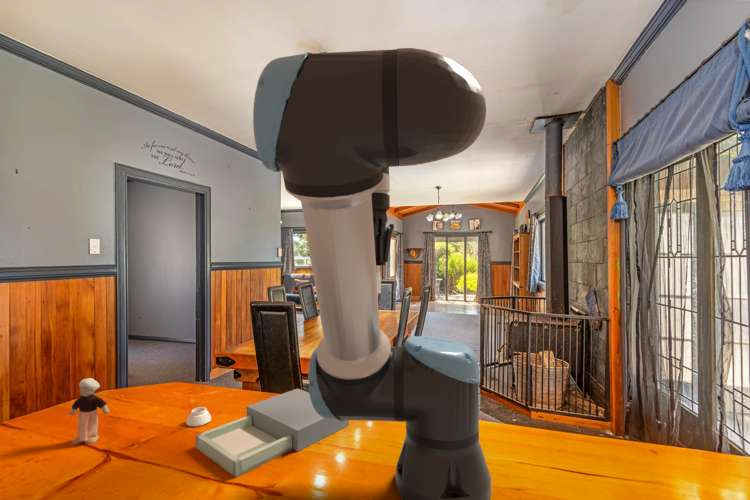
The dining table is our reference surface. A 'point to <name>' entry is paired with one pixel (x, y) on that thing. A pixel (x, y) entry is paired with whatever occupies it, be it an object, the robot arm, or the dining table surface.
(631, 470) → the dining table surface
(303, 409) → the grey drawer casing
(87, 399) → the grandmother figurine
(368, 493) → the dining table surface
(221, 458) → the tray
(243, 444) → the card
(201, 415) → the white jar
